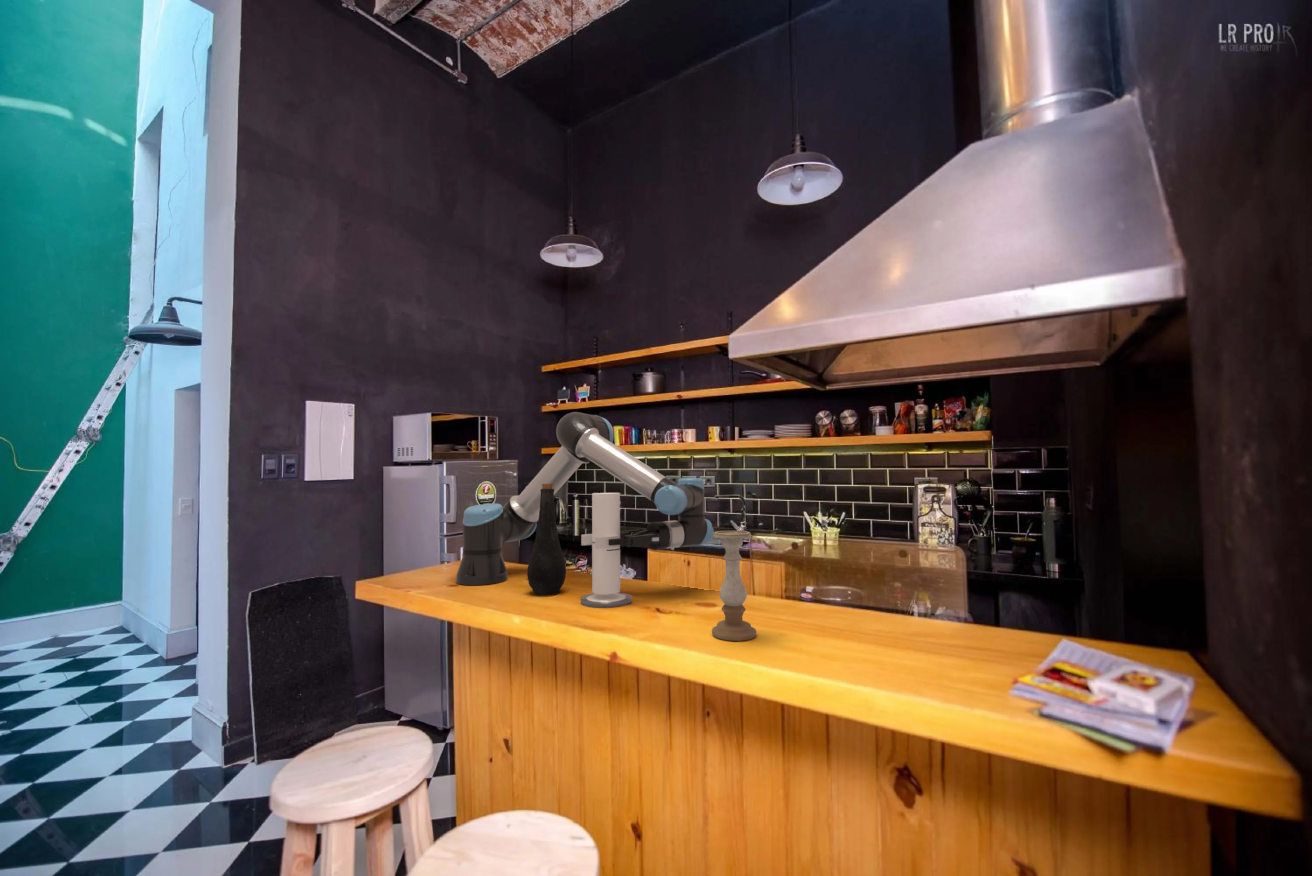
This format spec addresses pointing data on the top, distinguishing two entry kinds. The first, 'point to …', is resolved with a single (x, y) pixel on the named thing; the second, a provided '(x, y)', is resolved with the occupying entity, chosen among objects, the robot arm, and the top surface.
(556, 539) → the bottle
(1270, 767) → the top surface
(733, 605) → the candle holder
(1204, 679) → the top surface
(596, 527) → the cylindrical container
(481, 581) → the robot arm
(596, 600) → the base plate
